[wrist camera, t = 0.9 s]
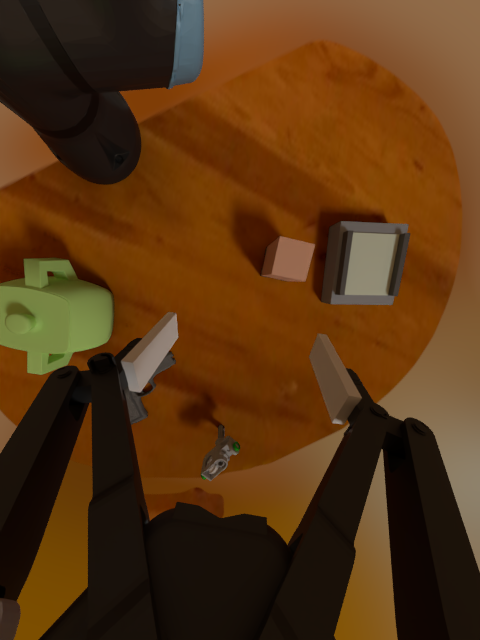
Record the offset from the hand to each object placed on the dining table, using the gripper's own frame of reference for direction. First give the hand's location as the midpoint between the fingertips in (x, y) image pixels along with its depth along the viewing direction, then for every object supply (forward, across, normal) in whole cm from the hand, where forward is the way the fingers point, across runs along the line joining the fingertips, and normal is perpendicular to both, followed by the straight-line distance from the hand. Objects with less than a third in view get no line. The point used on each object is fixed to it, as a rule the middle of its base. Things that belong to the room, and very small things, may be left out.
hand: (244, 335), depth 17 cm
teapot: (+17, -36, -11) cm, 42 cm away
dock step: (+30, +23, +2) cm, 38 cm away
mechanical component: (+13, -2, -39) cm, 41 cm away
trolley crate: (+27, +5, +1) cm, 27 cm away
